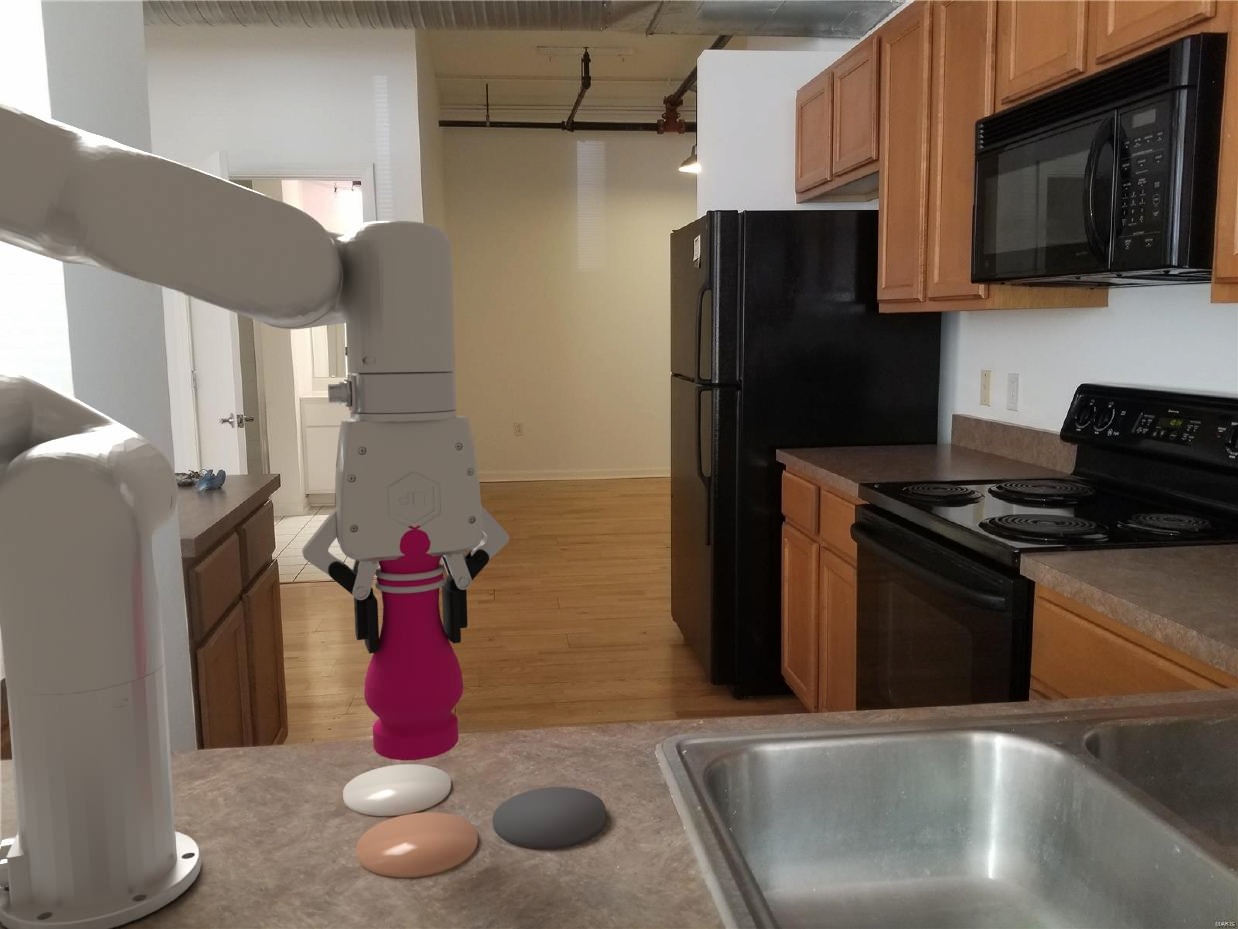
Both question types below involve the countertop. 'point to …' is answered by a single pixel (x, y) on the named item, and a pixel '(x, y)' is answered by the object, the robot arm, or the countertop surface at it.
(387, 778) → the cream oval dome
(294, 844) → the countertop surface
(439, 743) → the pepper mill
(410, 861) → the peach oval dome
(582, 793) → the dark gray oval dome
